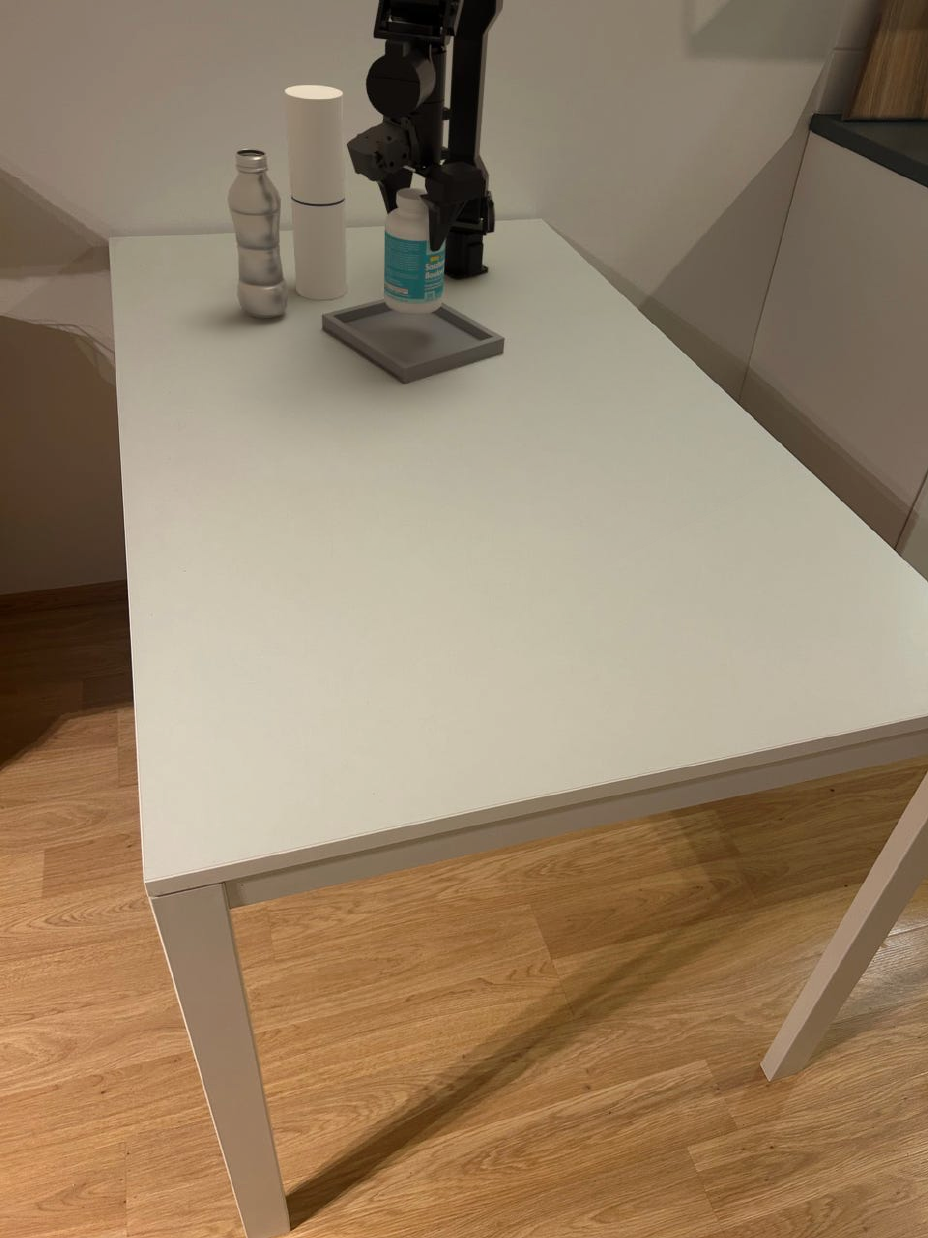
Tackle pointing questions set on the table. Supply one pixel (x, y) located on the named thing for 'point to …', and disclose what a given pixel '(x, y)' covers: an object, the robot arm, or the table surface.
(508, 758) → the table surface
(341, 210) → the cylindrical container
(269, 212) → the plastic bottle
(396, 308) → the pill bottle
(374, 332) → the tray
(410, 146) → the robot arm
